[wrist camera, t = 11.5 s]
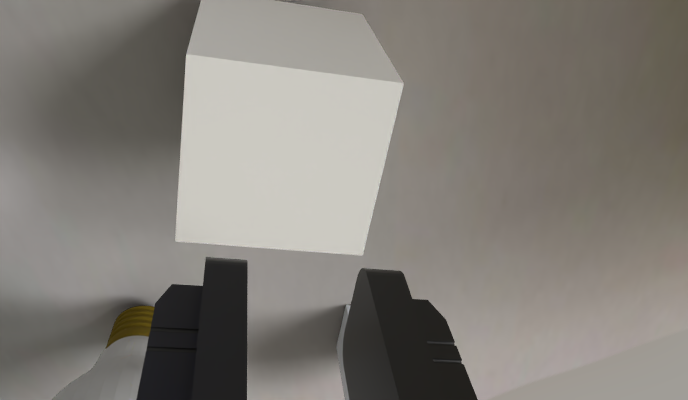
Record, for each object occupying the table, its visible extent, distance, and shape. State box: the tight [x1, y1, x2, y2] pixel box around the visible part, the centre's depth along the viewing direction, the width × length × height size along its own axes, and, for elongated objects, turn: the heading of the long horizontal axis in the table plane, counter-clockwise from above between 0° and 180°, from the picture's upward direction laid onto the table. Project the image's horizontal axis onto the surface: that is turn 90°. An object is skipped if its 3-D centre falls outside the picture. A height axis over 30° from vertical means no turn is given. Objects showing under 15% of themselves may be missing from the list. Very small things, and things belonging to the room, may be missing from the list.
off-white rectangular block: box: [175, 0, 404, 256], centre depth 19 cm, size 5×5×7 cm
